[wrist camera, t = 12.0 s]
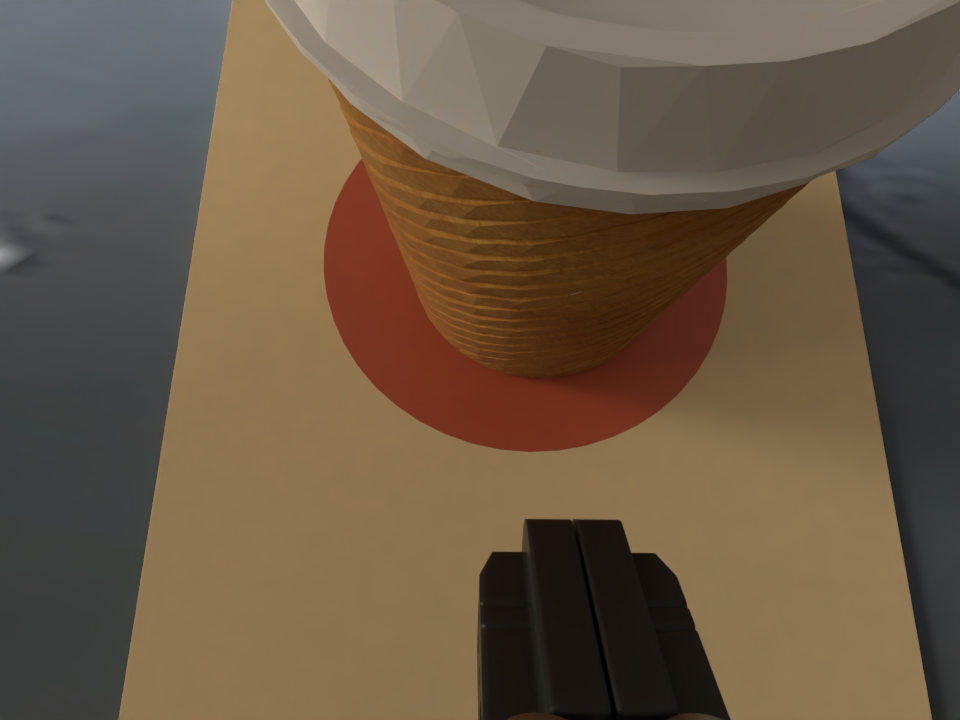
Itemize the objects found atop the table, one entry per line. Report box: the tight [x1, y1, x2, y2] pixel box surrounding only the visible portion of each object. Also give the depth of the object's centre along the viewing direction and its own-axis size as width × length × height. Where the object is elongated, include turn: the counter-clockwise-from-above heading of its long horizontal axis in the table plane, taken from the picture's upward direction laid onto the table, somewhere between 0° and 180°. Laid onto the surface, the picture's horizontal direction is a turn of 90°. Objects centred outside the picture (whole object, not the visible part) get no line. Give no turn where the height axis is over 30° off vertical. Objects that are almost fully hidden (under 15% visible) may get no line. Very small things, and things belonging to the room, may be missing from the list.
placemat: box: [119, 0, 932, 720], centre depth 19 cm, size 17×34×1 cm, turn 179°
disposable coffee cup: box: [265, 0, 960, 378], centre depth 13 cm, size 10×10×12 cm
